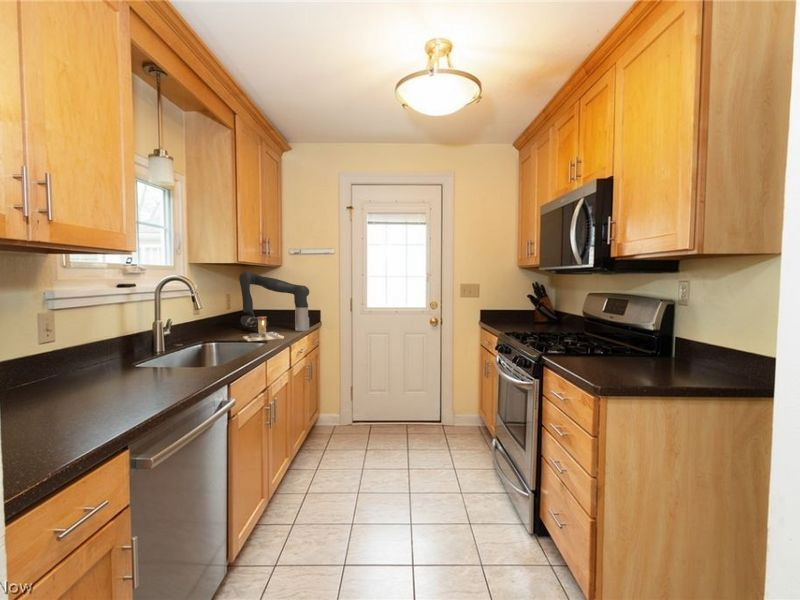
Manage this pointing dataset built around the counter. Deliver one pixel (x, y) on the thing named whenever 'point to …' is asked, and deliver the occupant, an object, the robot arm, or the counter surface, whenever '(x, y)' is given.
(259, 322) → the yellow jar
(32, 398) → the counter surface
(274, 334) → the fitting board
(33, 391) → the counter surface
